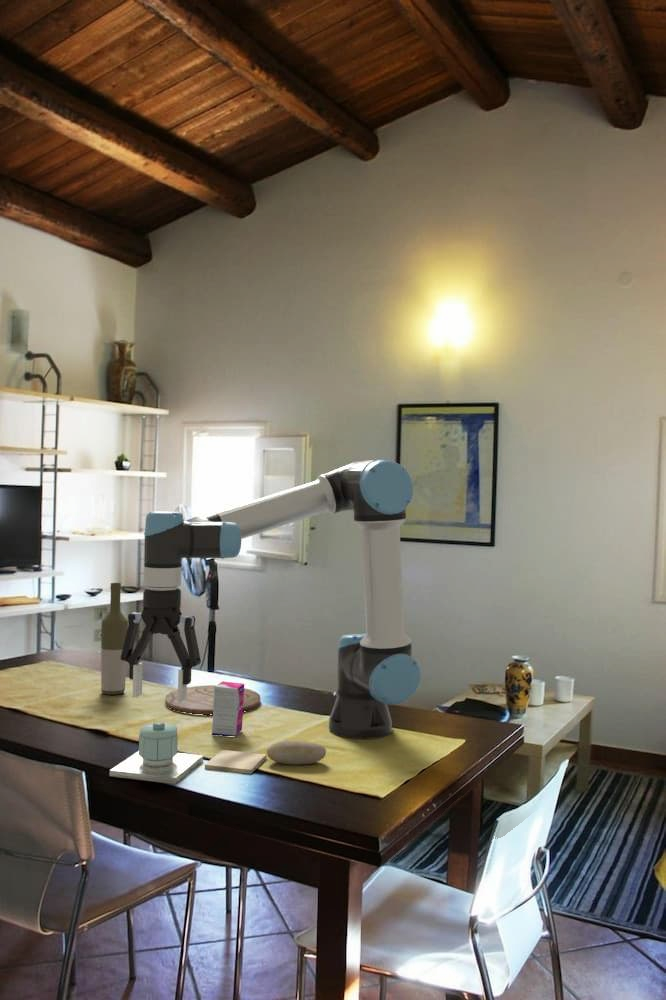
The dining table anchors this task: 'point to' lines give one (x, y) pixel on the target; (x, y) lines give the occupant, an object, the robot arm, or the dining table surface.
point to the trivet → (206, 700)
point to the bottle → (113, 646)
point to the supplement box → (228, 708)
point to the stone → (296, 752)
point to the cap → (158, 741)
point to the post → (157, 768)
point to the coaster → (235, 761)
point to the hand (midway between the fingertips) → (159, 697)
